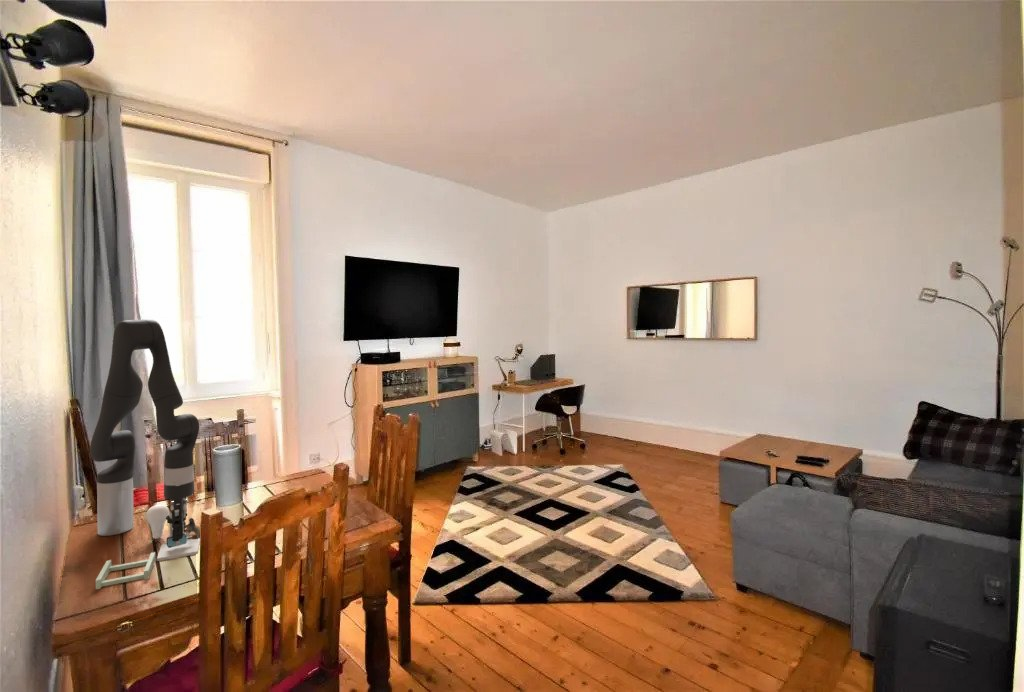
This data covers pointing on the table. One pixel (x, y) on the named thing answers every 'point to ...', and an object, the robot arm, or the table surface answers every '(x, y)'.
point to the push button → (170, 540)
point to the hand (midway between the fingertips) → (179, 535)
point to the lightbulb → (157, 519)
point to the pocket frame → (108, 568)
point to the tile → (179, 550)
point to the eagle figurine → (192, 528)
